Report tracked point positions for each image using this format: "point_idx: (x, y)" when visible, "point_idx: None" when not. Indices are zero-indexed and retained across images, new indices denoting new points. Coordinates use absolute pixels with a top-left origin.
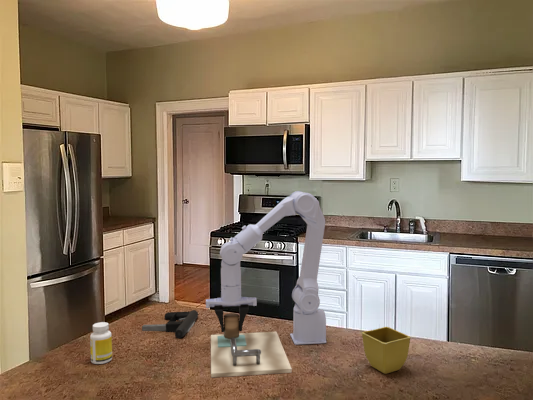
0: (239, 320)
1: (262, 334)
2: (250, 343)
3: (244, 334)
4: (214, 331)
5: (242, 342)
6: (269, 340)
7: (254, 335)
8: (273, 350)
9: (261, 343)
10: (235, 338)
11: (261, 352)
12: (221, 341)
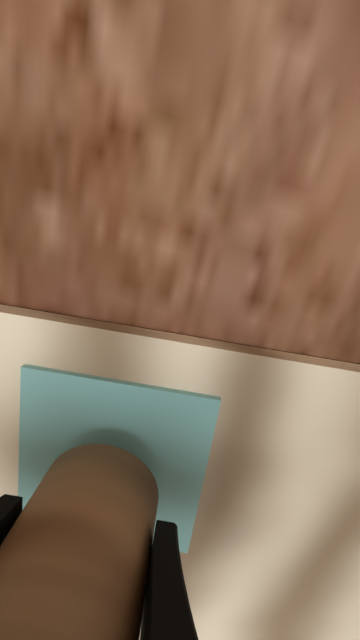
0: (147, 630)
1: (356, 415)
2: (220, 524)
3: (227, 375)
4: (23, 162)
5: (172, 517)
6: (353, 519)
7: (292, 416)
8: (311, 632)
9: (285, 542)
10: (141, 446)
11: (241, 632)
12: (42, 463)
